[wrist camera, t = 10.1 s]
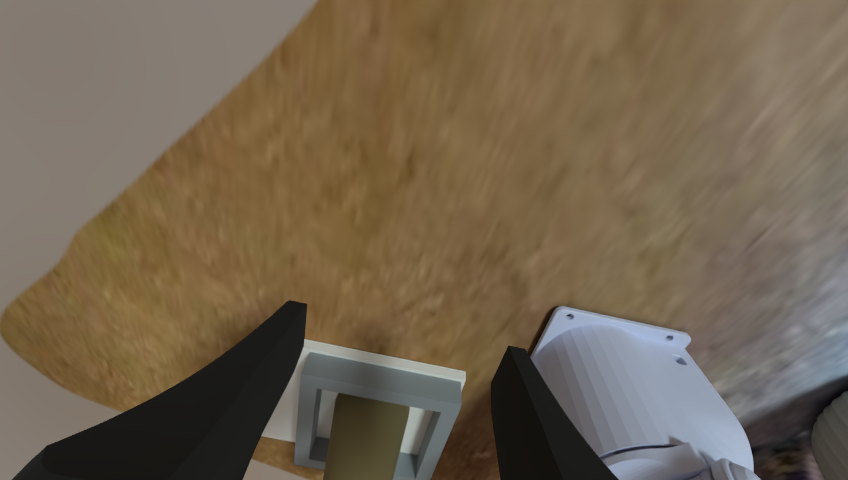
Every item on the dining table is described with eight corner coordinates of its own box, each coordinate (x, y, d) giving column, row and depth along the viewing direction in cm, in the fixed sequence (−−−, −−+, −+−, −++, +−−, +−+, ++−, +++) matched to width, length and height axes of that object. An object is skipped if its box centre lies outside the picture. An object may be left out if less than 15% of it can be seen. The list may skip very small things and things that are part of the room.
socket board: (465, 371, 28) (467, 403, 26) (430, 458, 34) (429, 491, 32) (256, 329, 27) (237, 358, 25) (257, 426, 33) (242, 457, 31)
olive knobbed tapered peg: (387, 439, 32) (360, 614, 22) (323, 412, 31) (266, 586, 21) (424, 402, 29) (411, 583, 20) (355, 370, 28) (306, 548, 18)
